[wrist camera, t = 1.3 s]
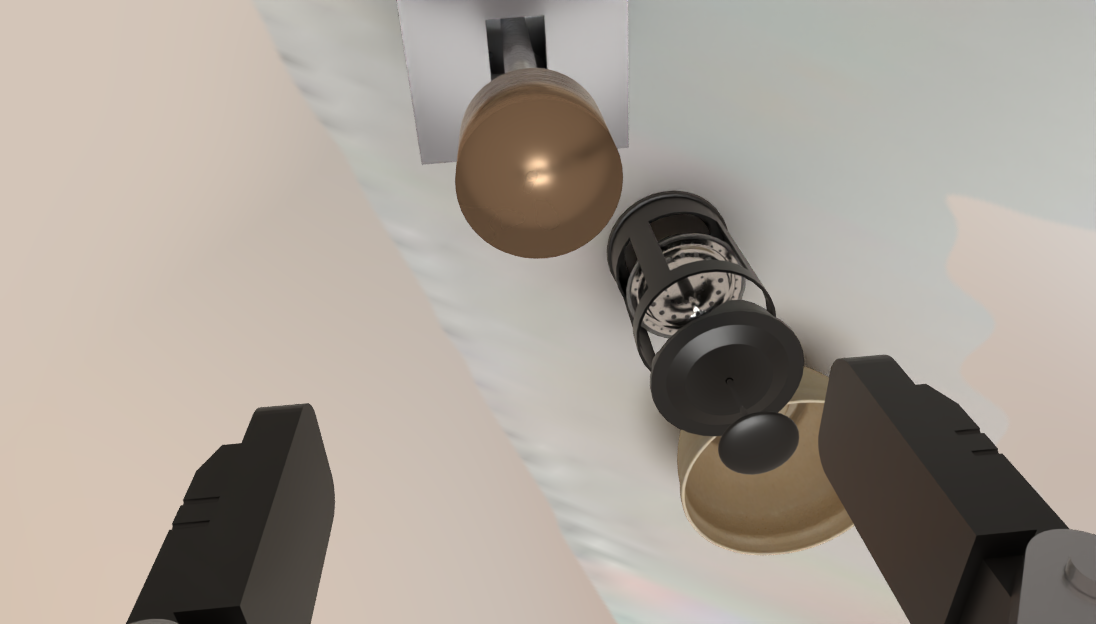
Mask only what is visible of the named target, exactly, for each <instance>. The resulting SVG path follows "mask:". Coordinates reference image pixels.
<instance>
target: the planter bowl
mask: <svg viewBox="0 0 1096 624" xmlns="http://www.w3.org/2000/svg"><path fill="white" fill-rule="evenodd" d="M828 381H829V377H827V376H825V375H823V374H821V373H819V372H817V371H815V370H813V369H810V368H808V367H805V366H804V369H803V376H802V379H801V381H800V384H799V387H798V389H797V390H796V392H795V394H794V395H793V397H792V398H791V400H790V401H789V402H788V403H787V404H786V405H785V407H784V408H783V409H782V410H781V411H779V412H778V413H781V414H783V415H786V416H788V417H789V418H790V419H792V420H793V421H794V423H795V424H796V425H797V428H798V430H799V443H798V446H797V449H796V451H795V452H794V454H793V455H792V456H791V457H790V458H789V460H788V461H786V462H785V463H784V464H783V465H781V466H779V467H778V468H776V469H774V470H771V471H769V472H766V473H762V474H754V475H748V474H741V473H737V472H734V471H732V470H730V469H729V468H728V467H726V466H725V465H724V464H723V463H722V461H721V459H720V457H719V453H718V444H719V441H720V438H721V436H716V437H715V436H701V435H696V434H692V433H688V432H686V431H684V430H681V432H680V437H679V443H678V453H677V464H678V475H679V481H680V496H681V502H682V506H683V509H684V512H685V515H686V517H687V519H688V521H689V522H690V524H691V525H692V527H693V528H694V529H695V530H696V531H697V532H698V533H699V534H700V535H701V536H702V537H703V538H705V539H706V540H707V541H709V542H711V543H712V544H714V545H716V546H718V547H721V548H724V549H726V550H730V551H733V552H737V553H741V554H749V555H778V554H786V553H792V552H797V551H802V550H805V549H809V548H812V547H815V546H818V545H821V544H823V543H825V542H828V541H830V540H832V539H834V538H835V537H837V536H839V535H841V534H842V533H844V532H846V531H847V530H849V529H850V528H852V527H853V526H854V524H853V522H852V520H851V518H850V517H849V515H848V513H847V511H846V510H845V508H844V506H843V504H842V503H841V501H840V499H839V497H838V496H837V494H836V492H835V490H834V489H833V487H832V485H831V483H830V482H829V480H828V478H827V476H826V474H825V472H824V470H823V467H822V464H821V460H820V456H819V449H818V435H819V429H820V424H821V418H822V413H823V408H824V402H825V397H826V392H827V386H828Z"/></svg>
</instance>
